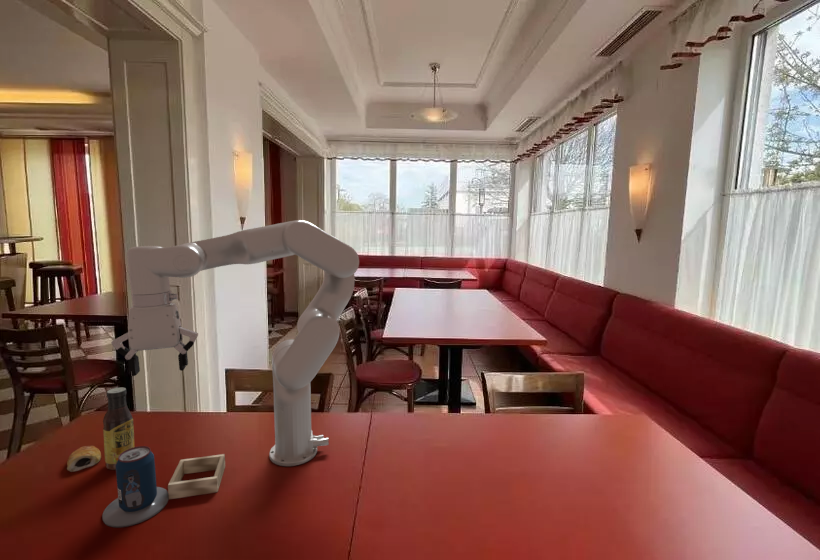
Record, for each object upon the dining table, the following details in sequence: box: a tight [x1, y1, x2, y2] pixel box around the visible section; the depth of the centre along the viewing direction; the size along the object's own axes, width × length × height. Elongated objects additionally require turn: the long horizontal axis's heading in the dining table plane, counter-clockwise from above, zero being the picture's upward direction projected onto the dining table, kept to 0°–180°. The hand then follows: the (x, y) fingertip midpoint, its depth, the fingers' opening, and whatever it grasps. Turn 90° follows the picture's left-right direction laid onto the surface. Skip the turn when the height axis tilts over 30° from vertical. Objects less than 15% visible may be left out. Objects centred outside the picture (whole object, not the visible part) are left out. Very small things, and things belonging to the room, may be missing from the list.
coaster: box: [101, 486, 170, 529], centre depth 87 cm, size 12×12×1 cm
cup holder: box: [167, 453, 226, 500], centre depth 95 cm, size 10×10×4 cm
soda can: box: [115, 445, 158, 513], centre depth 86 cm, size 7×7×12 cm
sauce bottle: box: [102, 386, 136, 471], centre depth 101 cm, size 6×6×20 cm
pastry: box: [66, 445, 102, 473], centre depth 103 cm, size 9×7×4 cm
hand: (159, 371), depth 93 cm, fingers open, 9 cm apart
